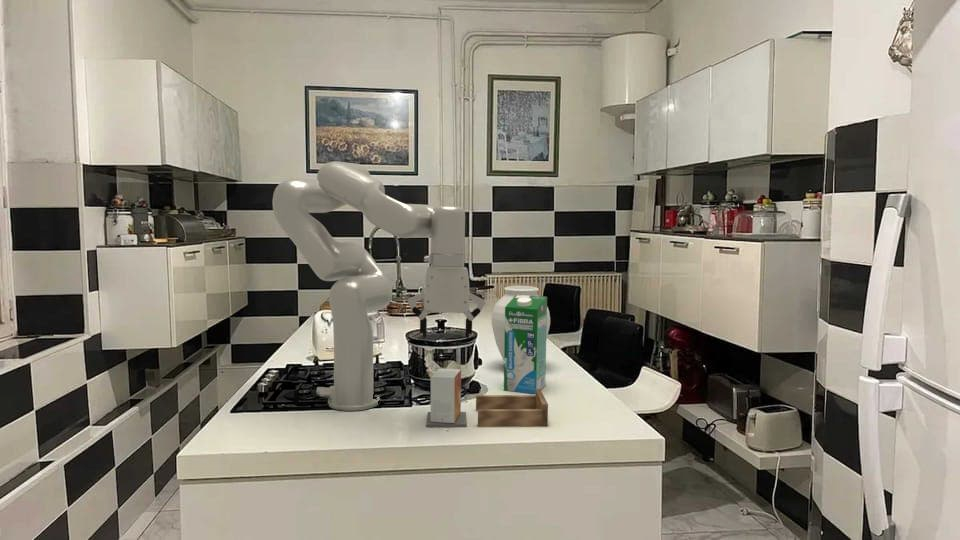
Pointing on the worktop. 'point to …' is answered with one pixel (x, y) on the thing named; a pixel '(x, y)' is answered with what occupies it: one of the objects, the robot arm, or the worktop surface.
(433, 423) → the pad
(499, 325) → the vase
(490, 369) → the worktop surface
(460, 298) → the robot arm
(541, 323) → the milk carton
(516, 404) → the holder
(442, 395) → the small box
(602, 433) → the worktop surface
